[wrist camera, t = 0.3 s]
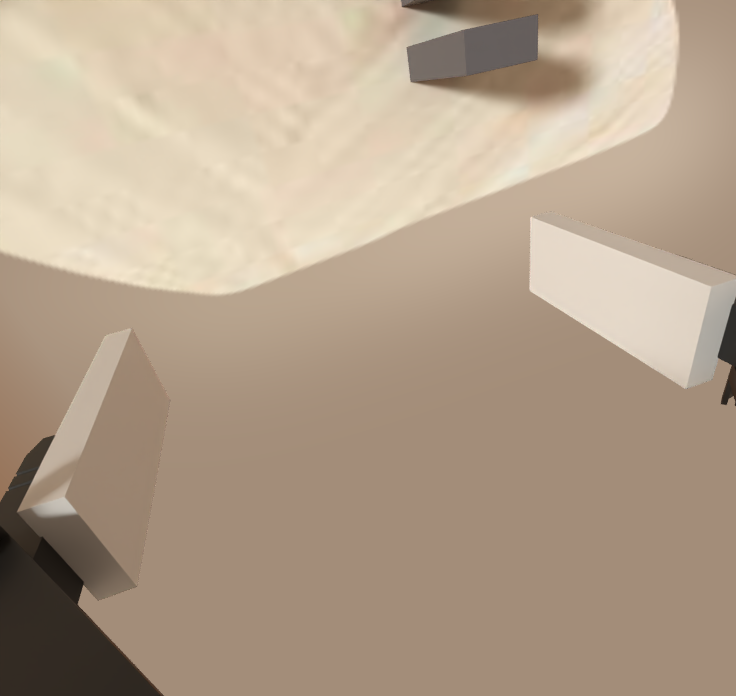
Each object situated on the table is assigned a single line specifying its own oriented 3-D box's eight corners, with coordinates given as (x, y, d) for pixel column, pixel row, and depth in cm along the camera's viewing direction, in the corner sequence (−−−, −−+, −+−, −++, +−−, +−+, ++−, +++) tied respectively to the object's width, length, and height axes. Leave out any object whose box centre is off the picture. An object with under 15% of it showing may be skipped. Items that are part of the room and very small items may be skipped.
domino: (406, 47, 35) (463, 30, 27) (464, 34, 36) (537, 14, 28) (410, 81, 37) (466, 75, 28) (466, 69, 37) (537, 59, 29)
